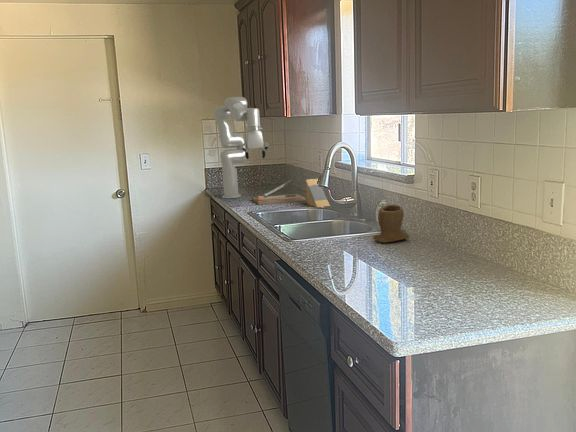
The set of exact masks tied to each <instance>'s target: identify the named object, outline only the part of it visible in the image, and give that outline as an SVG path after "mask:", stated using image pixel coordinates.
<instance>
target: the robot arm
mask: <svg viewBox="0 0 576 432" xmlns="http://www.w3.org/2000/svg"><path fill="white" fill-rule="evenodd" d="M223 103H224V105H221V106H217V107H215V108H214V112H213V113H214V114H213V115H214V119H215V123H216V125H217V129H218V134H219V135H218V136H219V141H220V146H221V147H222V148H224V149H225V150H222V151H221V152H220V155H219V158H220V162H221V163H220V164H221V168H222V169H221V170H222V184H223V195H222V196H221V198H222V199H238V198H241V194H240V193H239V183H238V182H239V181H238V171H237V168H236V167H235V165H236V164H237V165H238V164H244V163H245V162H246V161H247V160H249V159H250V158H249V150H256V149H257V150H258V149H261V150H262V151H261V155H262V156H261V158H263V159H265V157H266V151H267V150H268V149H269V146H270V143H269V142H267V141H264V137H263V136H264V135H263V132H262V131H261V130H263V129H264V128H263V127H262V126H261V118H260V109H259V108H257V107H248V101H247V99H246V98H245V97H244V96H231V97H226V99H225V100H224V102H223ZM228 120H233V121H235V122H246V126H247V131H246V133H245V137H244V136H243V134H242V133H241V132H233V131H232V129H233V128H232V125H231V124H230V122H229V121H228ZM264 145H265V147H264ZM231 148H232V149H231ZM233 148H234V149H233Z"/></svg>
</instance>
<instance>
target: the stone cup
mask: <svg viewBox="0 0 576 432" xmlns="http://www.w3.org/2000/svg"><path fill="white" fill-rule="evenodd" d="M377 213H378V214H377V220H378V225H379V228H380V233H379V234H375V235H374V236H373V238H372V239H373V240H374V241H375V242H379V243H392V242H398V241H402V240H407V239H410V235H409V234H408V233H407V232H406V230H405V229H402V225H403V220H404V217H405V216H404V214H405V213H404V209H403V207H402V206H400V205H399V204H387V205H384V206H381V207H380V208H379V209H378V212H377Z"/></svg>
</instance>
